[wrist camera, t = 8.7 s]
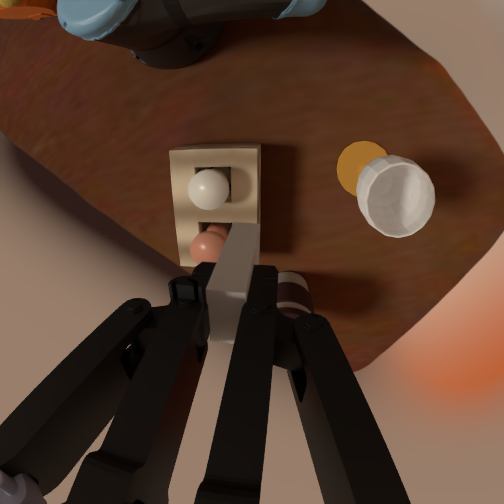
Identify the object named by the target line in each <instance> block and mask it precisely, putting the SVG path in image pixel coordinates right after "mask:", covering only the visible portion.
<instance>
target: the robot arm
mask: <svg viewBox="0 0 504 504" xmlns="http://www.w3.org/2000/svg"><path fill="white" fill-rule="evenodd" d="M326 2H327V0H58V2H57V14H58V19H59V22H60V24H61V25H62V27H63V28H64V29H65V30H66V31H68V32H69V33H71V34H73V35H76V36H79V37H81V38H83V39H85V40H89V41H91V40H92V41H100V42H104V43H108V44H113V45H117V46H121V47H125V48H128V49H129V50H130V52H131V53H132V55H133V56H134V57H135V58H136V59H137V60H138V61H140V62H141V63H143V64H145V65H147V66H150V67H154V68H158V69H167V70H169V69H178V68H182V67H185V66H188V65H190V64H192V63H194V62H196V61H198V60H199V59H201V58H202V57H203V56H205V55H206V54H207V53H208V52H209V51H210V50H211V49H212V48H213V46H214V45H215V44H216V42H217V40H218V39H219V37H220V34H221V31H222V28H223V21H230V20H240V19H252V18H269V17H272V19H281V18H284V17H305V16H311V15H313V14H315V13H317V12H319V11H320V10H321V9H322V8H323V6H324V5H325V3H326ZM259 245H260V224H256V223H238V222H234V223H233V225H232V227H231V230H230V232H229V234H228V237H227V239H226V241H225V244H224V246H223V249H222V251H221V253H220V256H219V258H218V261H217V263H216V262H201V263H200V264H198V265H197V266H196V267H195V269H194V271H193V273H192V275H191V276H181V277H177V278H175V279H173V280H171V281H170V282H169V283H168V286H169V292H170V298H171V301H170V303H169V305H166V306H159V307H151V304H150V302H149V301H148V300H146V299H142V298H133V299H131V300H128V301H126V302H125V303H123V304H122V305H121V306H120V307H119V308H118V309H117V310H115V311H114V312H113V313H112V314H111V315H110V316H109V317H108V318H107V319H106V320H105V321H104V322H103V323H101V324H100V325H99V326H98V327H97V328H96V329H95V330H94V331H93V332H92V333H91V334H90V335H89V336H88V337H86V338H85V339H84V340H83V342H81V343H80V344H79V345H78V346H77V347H76V348H75V349H74V350H73V351H72V352H71V353H70V354H69V355H68V356H67V357H66V358H65V359H64V360H63V361H62V362H61V363H60V364H59V365H58V366H57V367H56V368H55V369H54V370H53V371H52V372H51V373H50V374H49V375H48V376H47V377H46V378H45V379H44V380H43V381H42V382H41V383H40V384H39V385H38V386H37V387H36V388H35V389H34V390H33V391H32V392H31V393H30V394H29V395H28V396H27V397H26V398H25V399H24V400H23V401H22V402H21V404H20V405H19V406H18V407H17V408H16V409H15V410H14V411H13V412H12V413H11V414H10V415H9V416H8V417H7V419H6V420H5V421H4V422H3V423H2V424H1V425H0V504H47V502H46V500H45V499H44V498H43V496H45V495H47V494H48V493H50V492H51V491H52V490H53V489H55V488H56V487H57V486H58V485H59V484H60V483H61V482H62V481H63V480H64V479H65V477H66V476H67V475H68V474H69V472H70V471H71V470H72V469H73V467H74V466H75V465H76V463H77V462H78V461H79V460H80V458H81V457H82V456H83V455H84V453H85V452H86V451H87V449H88V448H89V447H90V446H91V444H92V443H93V442H94V441H95V439H96V438H97V437H98V436H99V434H100V433H101V432H102V431H103V429H104V428H105V427H106V425H107V424H108V423H109V422H110V420H111V419H112V418H113V416H114V415H115V416H114V418H113V421H112V423H111V425H110V427H109V430H108V432H107V434H106V437H105V439H104V441H103V444H102V446H101V447H100V449H99V450H98V451H95V452H91V453H89V454H88V455H86V457H85V458H84V460H83V462H82V464H81V466H80V469H79V471H78V474H77V476H76V478H75V481H74V483H73V486H72V488H71V491H70V494H69V496H68V498H67V501H66V502H64V503H62V504H168V501H169V499H168V488H169V484H170V481H171V477H172V473H173V470H174V466H175V462H176V459H177V455H178V452H179V448H180V444H181V441H182V438H183V434H184V430H185V427H186V423H187V420H188V416H189V413H190V409H191V406H192V402H193V399H194V396H195V392H196V389H197V385H198V382H199V378H200V375H201V371H202V368H203V365H204V361H205V358H206V355H207V351H208V343H207V340H208V337H209V333H210V341H214V342H222V343H232V344H234V346H233V351H232V355H231V360H230V364H229V369H228V373H227V379H226V382H225V387H224V391H223V396H222V401H221V405H220V410H219V415H218V419H217V423H216V428H215V433H214V437H213V441H212V446H211V450H210V455H209V460H208V464H207V468H206V473H205V477H204V479H203V481H202V482H201V484H200V486H199V488H198V490H197V494H196V498H195V502H194V504H259V501H260V491H261V480H262V471H263V463H264V454H265V453H264V452H265V444H266V434H267V424H268V413H269V401H270V391H271V379H272V367H273V365H276V366H279V367H281V368H284V369H287V373H288V377H289V380H290V384H291V387H292V391H293V394H294V398H295V401H296V405H297V408H298V411H299V415H300V419H301V422H302V426H303V429H304V433H305V436H306V440H307V443H308V447H309V450H310V454H311V457H312V461H313V464H314V468H315V472H316V475H317V479H318V482H319V486H320V489H321V493H322V496H323V500H324V503H325V504H411V503H410V500H409V498H408V496H407V493H406V490H405V488H404V486H403V483H402V481H401V478H400V476H399V473H398V471H397V469H396V466H395V464H394V462H393V459H392V457H391V455H390V452H389V450H388V448H387V445H386V443H385V441H384V439H383V436H382V434H381V432H380V429H379V428H378V425H377V423H376V421H375V418H374V416H373V414H372V412H371V409H370V407H369V405H368V403H367V401H366V399H365V397H364V394H363V392H362V390H361V388H360V386H359V384H358V381H357V379H356V377H355V375H354V373H353V371H352V369H351V367H350V364H349V362H348V360H347V358H346V356H345V354H344V352H343V350H342V348H341V346H340V344H339V342H338V340H337V338H336V336H335V334H334V332H333V330H332V328H331V325H330V323H329V322H328V321H327V319H326V318H324V317H323V316H321V315H318V314H315V313H305V314H301V315H300V316H298V317H297V318H296V319H294V318H290V317H288V316H285V315H284V314H282V313H281V312H280V311H279V309H278V308H277V293H278V275H279V272H278V270H277V269H276V267H275V266H269V265H259ZM128 345H130V346H129V347H128V348H127V346H128ZM126 348H127V349H126Z"/></svg>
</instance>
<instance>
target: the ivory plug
mask: <svg viewBox="0 0 504 504" xmlns="http://www.w3.org/2000/svg"><path fill="white" fill-rule="evenodd" d="M230 183H231V170H230V169H229V168H228V167H213V168H212V169H205V170H202V171H200V172H198V173H197V174H196V175H194V176H193V177H192V179H191V180H190V182H189V185H188V194H189V197H190V199H191V201H192V202H193V203H194V204H195V205H196V206H197V207H199V208H201V209H204V210H214V209H217V208H219V207H220V206H222V205H223V204H224V202H225V201H226V199H227V197H228V195H229V184H230Z"/></svg>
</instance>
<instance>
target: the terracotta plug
mask: <svg viewBox="0 0 504 504" xmlns="http://www.w3.org/2000/svg"><path fill="white" fill-rule="evenodd" d="M231 227H232V225H231V223H221V222H211V223H210V225H209V227H208V228H207V230H206V231H203V232H201V233H199V234H198V235H197V236H196V237H195V238H194V240H193V241H192V243H191V246H190V254H191V257H192V258H193V260H194V261H195V262H196V263H197V264H200V263H201V262H216V263H217V261H218V258H219V256H220V253H221V251H222V249H223V246H224V244H225V241H226V239H227V237H228V234H229V232H230V230H231Z"/></svg>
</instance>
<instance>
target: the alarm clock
mask: <svg viewBox="0 0 504 504" xmlns="http://www.w3.org/2000/svg"><path fill="white" fill-rule="evenodd" d="M57 2H58V0H0V18H4V19H33V20H39V19H41V18H43V17H49V16H51V15H52V16H58V14H57Z"/></svg>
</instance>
